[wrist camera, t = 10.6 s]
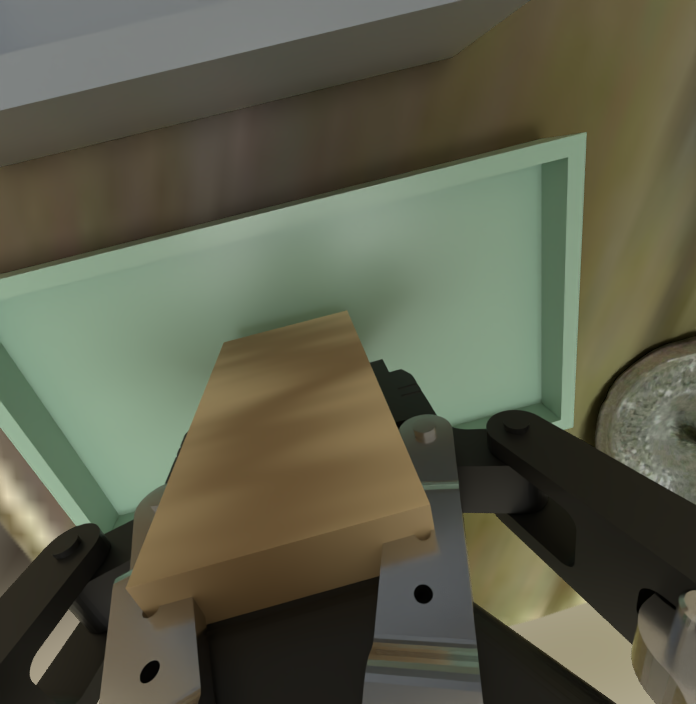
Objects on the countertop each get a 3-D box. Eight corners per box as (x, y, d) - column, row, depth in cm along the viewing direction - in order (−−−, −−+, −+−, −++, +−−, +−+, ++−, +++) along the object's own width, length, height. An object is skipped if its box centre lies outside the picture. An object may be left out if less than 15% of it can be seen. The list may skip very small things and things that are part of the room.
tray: (541, 138, 15) (586, 131, 12) (541, 398, 20) (573, 427, 18) (-34, 282, 14) (-96, 303, 12) (121, 511, 19) (98, 555, 17)
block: (347, 310, 14) (429, 503, 6) (371, 412, 16) (458, 666, 8) (223, 342, 14) (125, 588, 5) (263, 441, 16) (234, 731, 7)
